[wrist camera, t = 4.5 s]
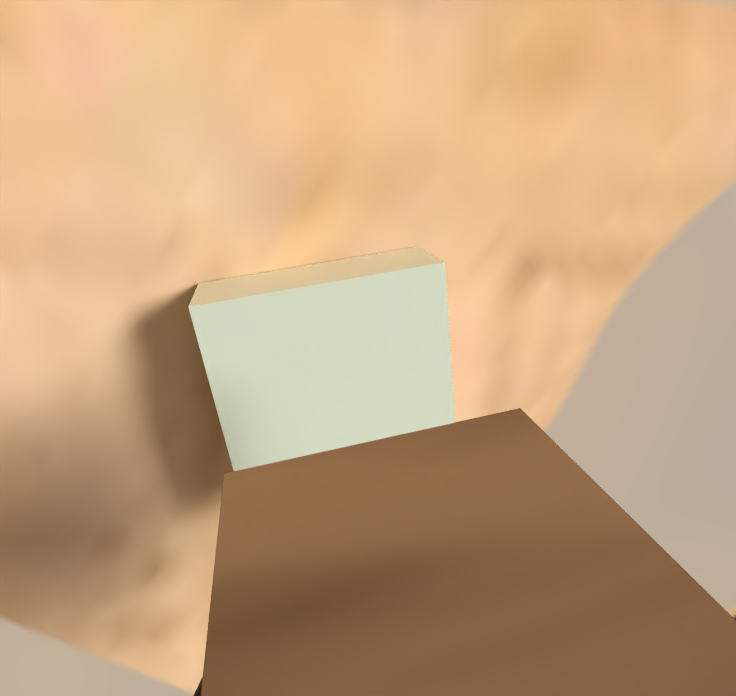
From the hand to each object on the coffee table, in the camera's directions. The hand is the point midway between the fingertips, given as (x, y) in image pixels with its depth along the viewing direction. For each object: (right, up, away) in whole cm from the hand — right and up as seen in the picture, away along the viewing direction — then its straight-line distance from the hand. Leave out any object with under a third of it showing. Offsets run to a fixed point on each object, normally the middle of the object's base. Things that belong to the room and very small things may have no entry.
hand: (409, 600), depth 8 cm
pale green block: (-2, +4, +9) cm, 10 cm away
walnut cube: (0, 0, +1) cm, 1 cm away
